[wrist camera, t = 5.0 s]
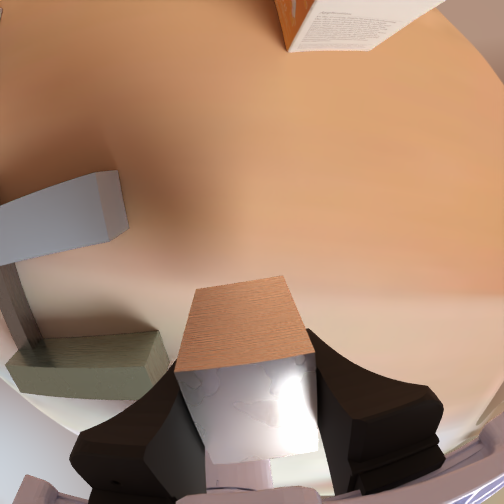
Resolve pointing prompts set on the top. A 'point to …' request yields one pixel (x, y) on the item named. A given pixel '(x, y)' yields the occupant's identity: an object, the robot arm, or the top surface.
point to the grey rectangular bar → (63, 217)
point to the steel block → (249, 372)
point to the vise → (77, 355)
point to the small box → (345, 22)
